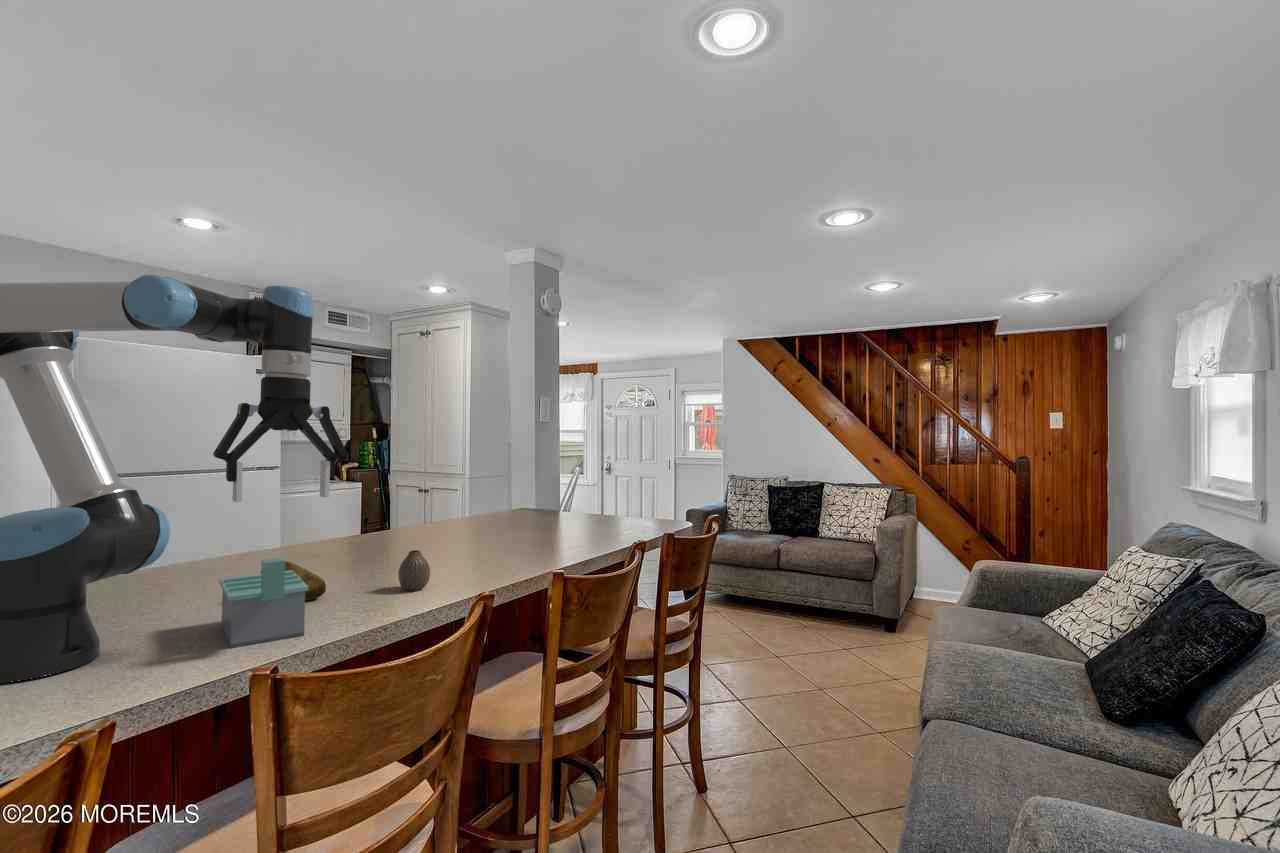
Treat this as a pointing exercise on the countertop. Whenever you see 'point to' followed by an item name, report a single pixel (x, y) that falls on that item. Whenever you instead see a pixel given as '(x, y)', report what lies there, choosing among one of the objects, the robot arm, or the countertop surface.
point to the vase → (414, 572)
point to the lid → (263, 583)
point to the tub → (263, 619)
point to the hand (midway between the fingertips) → (282, 499)
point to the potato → (308, 581)
